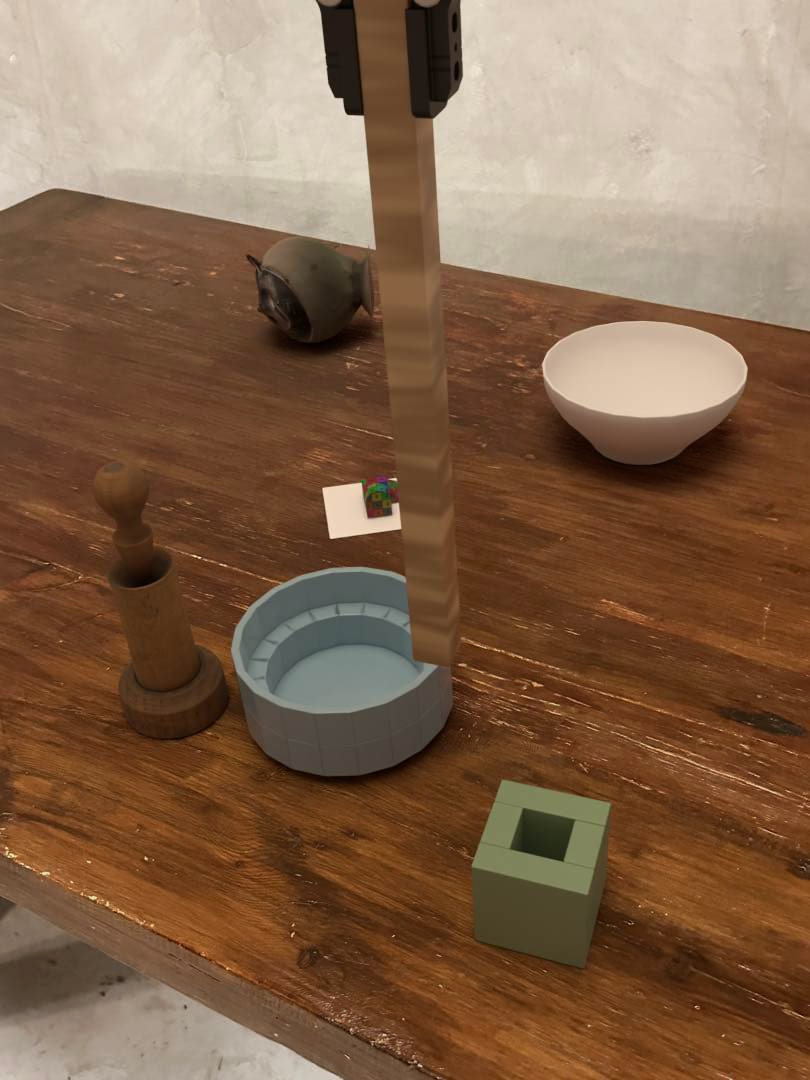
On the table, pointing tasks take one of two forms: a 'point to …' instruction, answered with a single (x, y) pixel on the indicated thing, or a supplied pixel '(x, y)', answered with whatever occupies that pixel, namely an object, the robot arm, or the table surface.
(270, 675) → the light blue round container
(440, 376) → the stick
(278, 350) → the table surface
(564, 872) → the stick holder
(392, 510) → the white board
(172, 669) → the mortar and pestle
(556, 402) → the bowl
